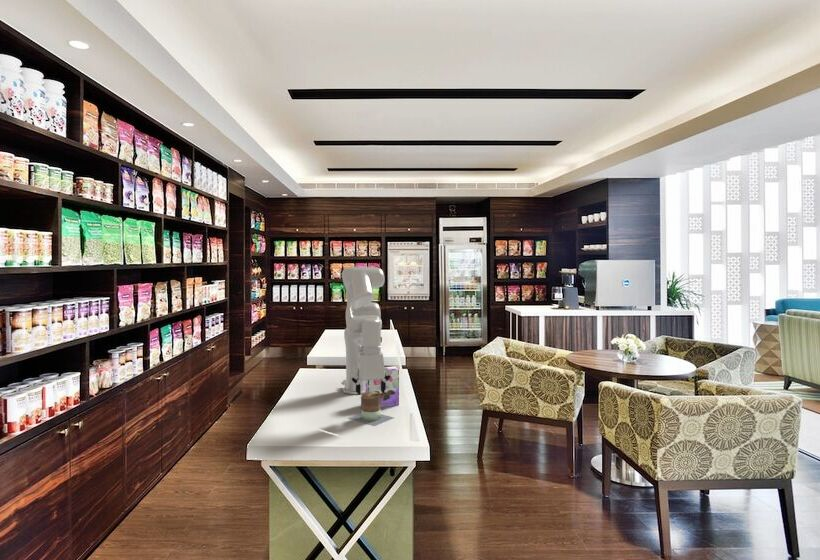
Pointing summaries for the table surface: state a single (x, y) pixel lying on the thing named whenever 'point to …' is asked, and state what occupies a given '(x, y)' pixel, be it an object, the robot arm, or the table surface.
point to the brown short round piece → (370, 402)
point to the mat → (373, 423)
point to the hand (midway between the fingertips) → (370, 392)
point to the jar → (371, 415)
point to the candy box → (392, 388)
